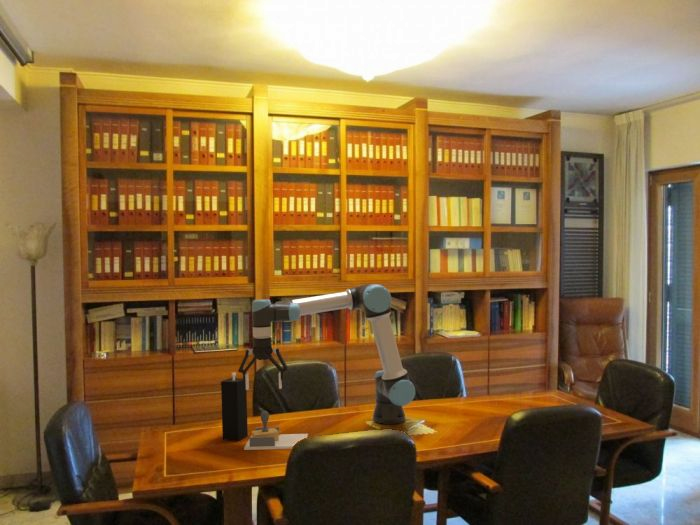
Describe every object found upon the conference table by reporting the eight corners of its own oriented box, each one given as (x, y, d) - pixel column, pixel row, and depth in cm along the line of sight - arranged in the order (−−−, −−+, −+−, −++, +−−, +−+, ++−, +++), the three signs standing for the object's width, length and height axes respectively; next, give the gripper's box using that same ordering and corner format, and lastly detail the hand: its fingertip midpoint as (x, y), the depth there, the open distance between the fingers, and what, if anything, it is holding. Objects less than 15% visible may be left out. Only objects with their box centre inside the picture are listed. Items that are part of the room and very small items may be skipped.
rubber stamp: (274, 436, 229) (274, 407, 229) (279, 440, 224) (278, 410, 224) (251, 440, 225) (250, 410, 225) (255, 444, 220) (254, 414, 220)
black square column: (248, 435, 235) (246, 370, 235) (238, 441, 228) (236, 374, 228) (232, 434, 238) (230, 370, 238) (222, 440, 230) (220, 373, 230)
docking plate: (307, 436, 233) (307, 425, 233) (304, 448, 217) (304, 436, 217) (251, 437, 233) (251, 426, 233) (244, 450, 217) (244, 438, 217)
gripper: (293, 335, 229) (295, 385, 229) (234, 336, 229) (235, 387, 229) (291, 337, 221) (293, 389, 221) (230, 339, 221) (231, 391, 221)
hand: (263, 388), depth 225 cm, fingers open, 13 cm apart
